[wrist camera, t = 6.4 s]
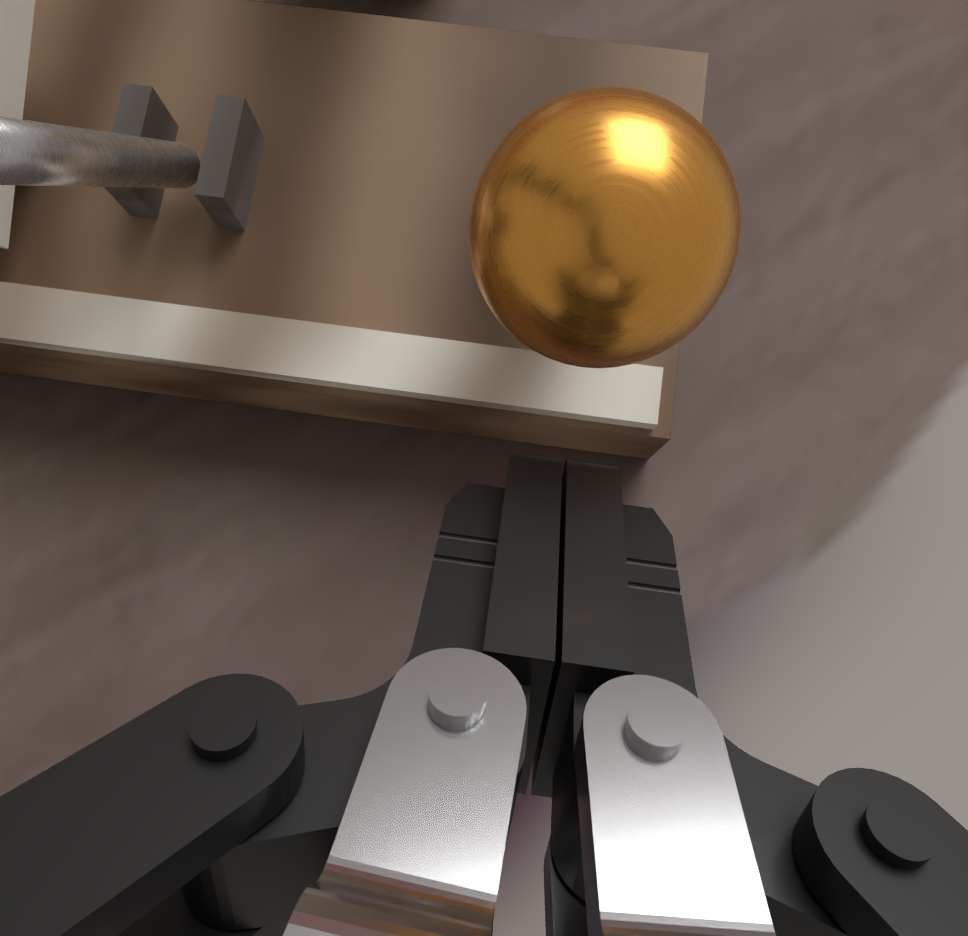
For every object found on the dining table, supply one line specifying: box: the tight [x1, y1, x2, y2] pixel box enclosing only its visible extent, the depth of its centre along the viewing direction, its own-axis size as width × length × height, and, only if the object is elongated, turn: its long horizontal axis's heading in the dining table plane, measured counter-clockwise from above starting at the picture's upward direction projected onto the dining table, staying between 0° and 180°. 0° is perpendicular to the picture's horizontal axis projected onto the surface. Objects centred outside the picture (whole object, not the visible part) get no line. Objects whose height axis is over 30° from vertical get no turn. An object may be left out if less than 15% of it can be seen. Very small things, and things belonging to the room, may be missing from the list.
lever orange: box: [469, 86, 741, 368], centre depth 14 cm, size 3×3×13 cm
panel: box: [0, 0, 709, 459], centre depth 23 cm, size 25×12×5 cm, turn 82°
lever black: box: [0, 116, 200, 189], centre depth 15 cm, size 3×3×14 cm
